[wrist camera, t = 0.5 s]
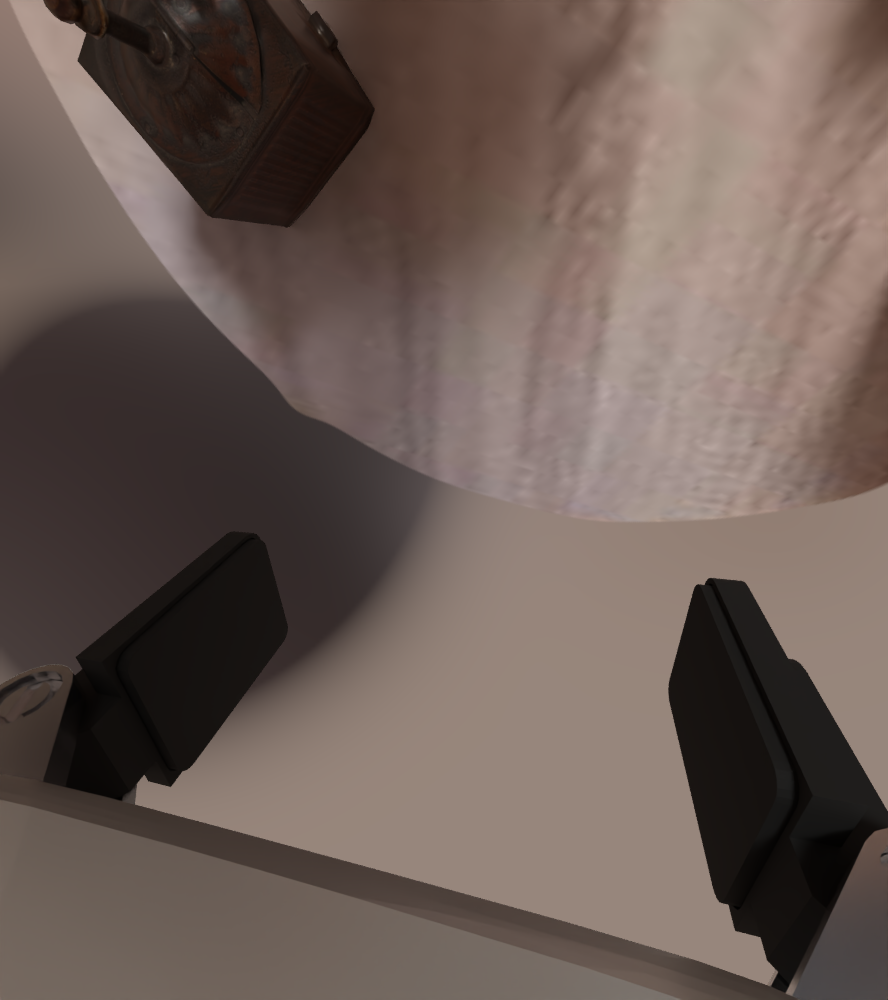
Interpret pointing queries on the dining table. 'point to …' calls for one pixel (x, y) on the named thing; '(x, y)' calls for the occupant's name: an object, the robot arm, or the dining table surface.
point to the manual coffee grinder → (228, 96)
